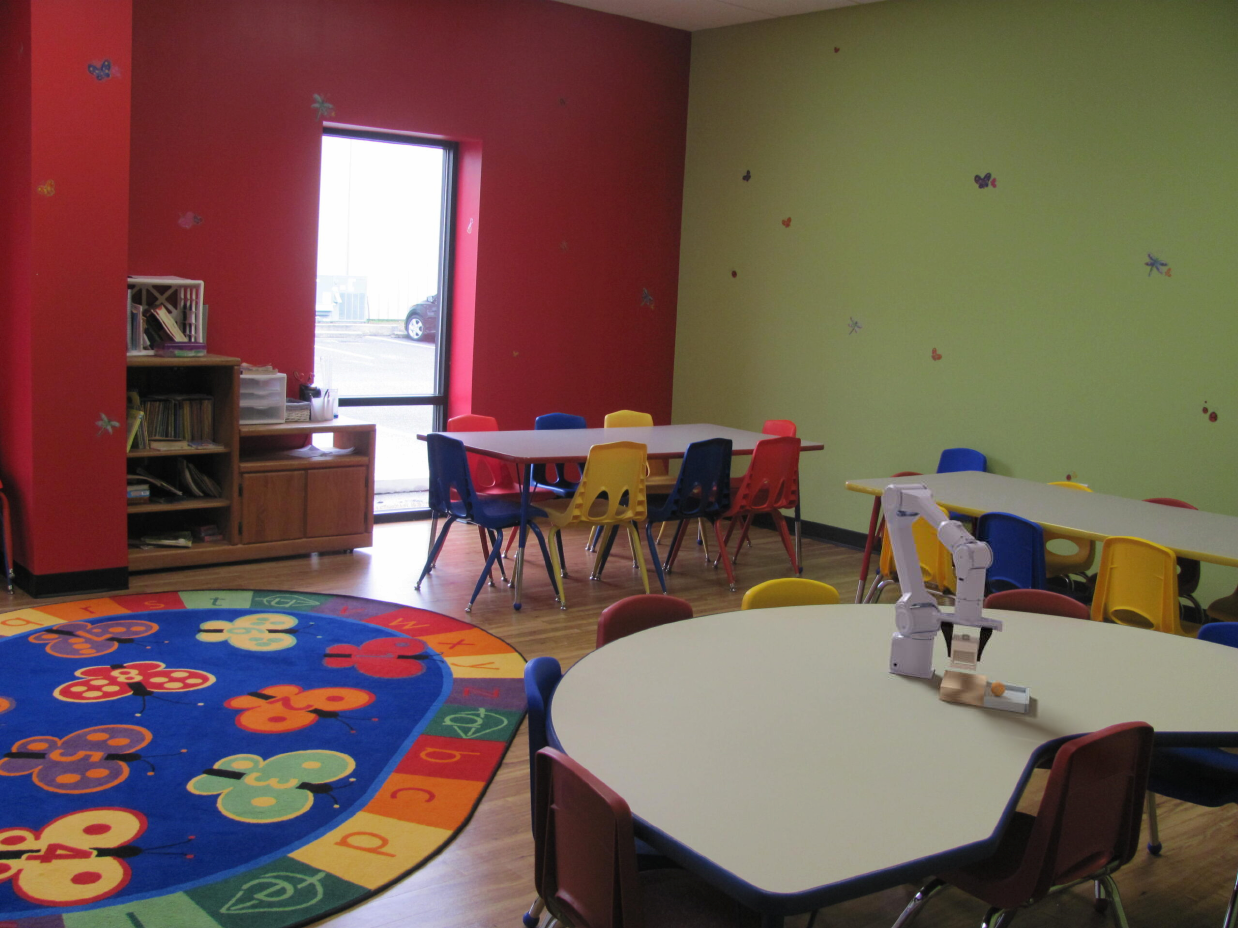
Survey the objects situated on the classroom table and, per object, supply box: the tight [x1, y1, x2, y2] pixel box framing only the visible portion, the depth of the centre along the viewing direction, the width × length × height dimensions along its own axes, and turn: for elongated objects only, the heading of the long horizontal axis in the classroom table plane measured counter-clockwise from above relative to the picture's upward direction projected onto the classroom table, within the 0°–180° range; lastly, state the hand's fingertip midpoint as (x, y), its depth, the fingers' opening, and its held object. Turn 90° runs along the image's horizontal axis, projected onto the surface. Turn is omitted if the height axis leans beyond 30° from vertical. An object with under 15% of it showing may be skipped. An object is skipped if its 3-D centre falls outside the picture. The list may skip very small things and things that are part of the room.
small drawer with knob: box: [949, 633, 980, 672], centre depth 237 cm, size 5×5×7 cm
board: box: [938, 669, 988, 707], centre depth 238 cm, size 9×12×3 cm
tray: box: [982, 680, 1031, 715], centre depth 234 cm, size 9×12×2 cm
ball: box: [991, 681, 1005, 696], centre depth 235 cm, size 3×3×3 cm
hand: (964, 658), depth 237 cm, fingers closed on small drawer with knob, 5 cm apart
